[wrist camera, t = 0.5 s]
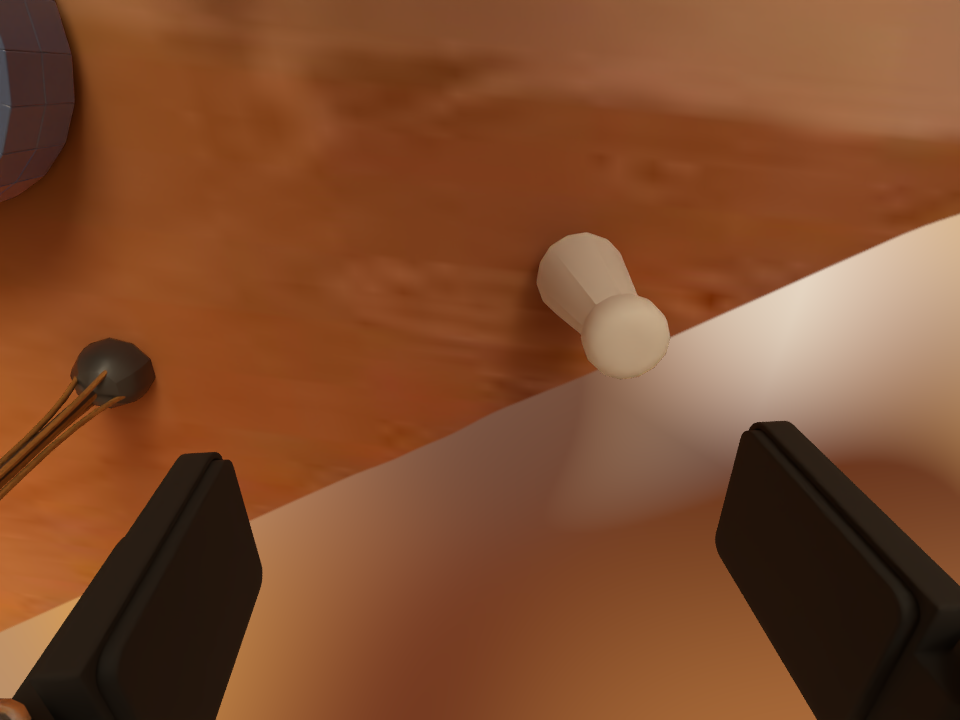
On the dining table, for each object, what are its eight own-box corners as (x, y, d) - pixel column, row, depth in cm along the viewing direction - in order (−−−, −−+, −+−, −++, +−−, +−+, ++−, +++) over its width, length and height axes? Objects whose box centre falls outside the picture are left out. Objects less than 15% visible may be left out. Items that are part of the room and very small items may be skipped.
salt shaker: (519, 291, 38) (555, 382, 27) (549, 213, 36) (602, 277, 24) (593, 313, 40) (658, 409, 28) (627, 239, 37) (713, 312, 26)
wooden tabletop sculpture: (94, 407, 40) (-174, 667, 22) (54, 354, 38) (-277, 596, 20) (167, 385, 40) (-47, 632, 22) (131, 331, 38) (-139, 556, 20)
